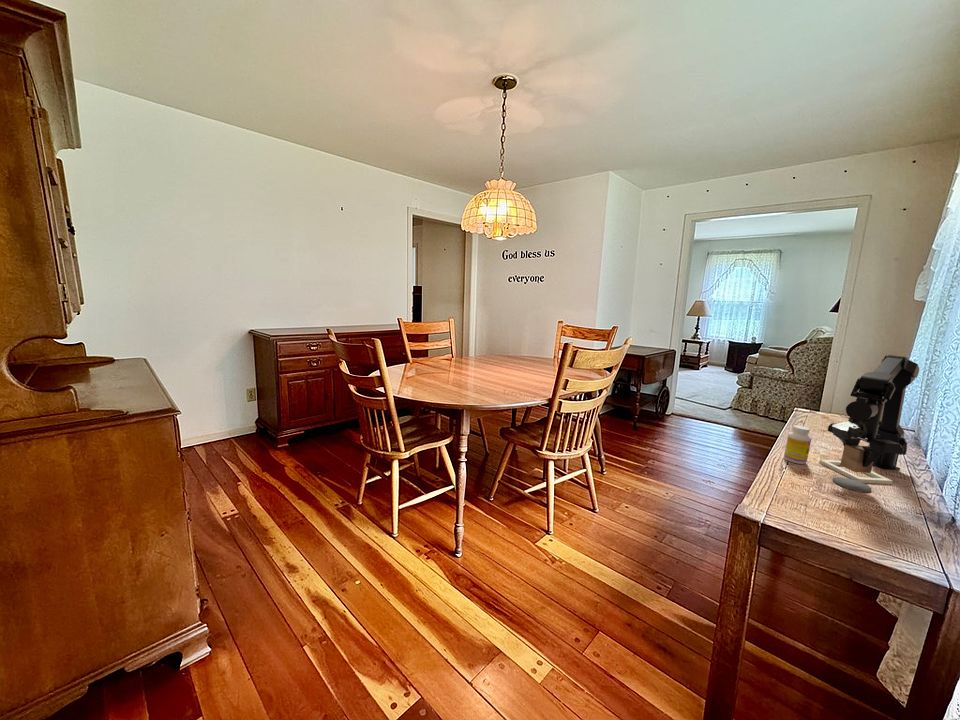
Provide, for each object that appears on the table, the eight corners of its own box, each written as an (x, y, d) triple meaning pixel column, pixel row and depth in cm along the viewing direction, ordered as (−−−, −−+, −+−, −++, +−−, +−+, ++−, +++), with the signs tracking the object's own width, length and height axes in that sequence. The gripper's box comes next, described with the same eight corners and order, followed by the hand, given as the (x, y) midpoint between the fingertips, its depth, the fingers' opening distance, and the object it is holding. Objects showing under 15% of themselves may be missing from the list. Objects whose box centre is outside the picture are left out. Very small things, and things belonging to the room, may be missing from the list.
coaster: (852, 479, 128) (852, 477, 128) (879, 493, 119) (880, 491, 119) (825, 477, 128) (825, 476, 128) (850, 491, 119) (850, 489, 119)
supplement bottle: (807, 466, 137) (814, 432, 135) (783, 461, 141) (790, 427, 139) (805, 460, 142) (812, 427, 140) (783, 455, 146) (789, 423, 144)
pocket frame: (849, 464, 141) (850, 461, 141) (891, 484, 126) (892, 480, 126) (819, 462, 141) (819, 459, 141) (858, 482, 126) (858, 478, 126)
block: (855, 465, 125) (860, 445, 124) (870, 472, 120) (875, 451, 119) (840, 465, 125) (844, 444, 124) (854, 472, 120) (859, 450, 119)
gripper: (816, 406, 129) (807, 450, 132) (870, 424, 111) (859, 475, 113) (849, 407, 129) (839, 451, 132) (909, 426, 111) (897, 477, 113)
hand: (856, 463), depth 122 cm, fingers closed on block, 5 cm apart
